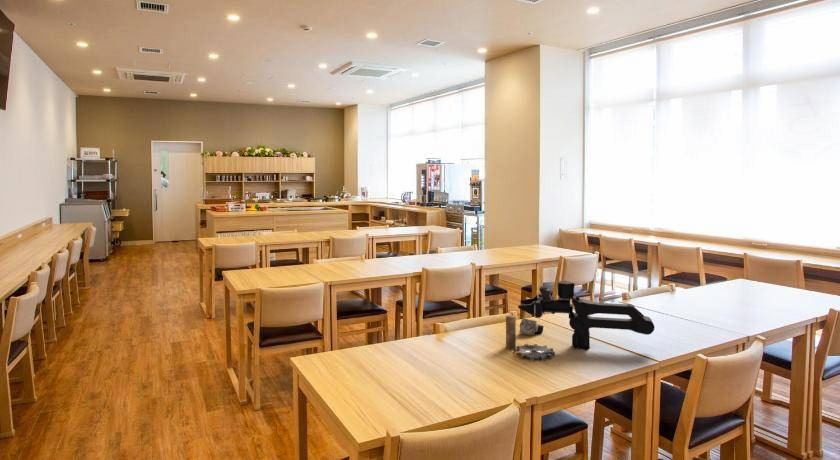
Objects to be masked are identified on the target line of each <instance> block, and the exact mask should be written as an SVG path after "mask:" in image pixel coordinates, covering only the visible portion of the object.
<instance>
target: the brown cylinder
mask: <svg viewBox="0 0 840 460" xmlns="http://www.w3.org/2000/svg"><path fill="white" fill-rule="evenodd" d="M516 320H517V316H515V315H506V316H505V348H506V349H509V350H514V348H515V349H517V346H516V345H517V342H516V341H517V331H516V330H517V329H516V328H517V326H516V325H517V323H516V322H517V321H516Z"/></svg>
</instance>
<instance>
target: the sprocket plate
mask: <svg viewBox="0 0 840 460" xmlns="http://www.w3.org/2000/svg"><path fill="white" fill-rule="evenodd" d="M513 354H514V356H515V357H520V360H530V361H531V362H534V361H537V360H538V361H541V362H544V361H545V360H547V359H548V360H552V359H553V357H556V351H554V348H552V347H551V348H550V347H548V346H547V345H538V343H537V344H536V343H533V344H532V345H531V344H527V343H526V344H523V345H517V346H516V348H514V349H513Z"/></svg>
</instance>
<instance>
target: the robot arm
mask: <svg viewBox="0 0 840 460" xmlns="http://www.w3.org/2000/svg"><path fill="white" fill-rule="evenodd" d="M575 284H576V283H575V282H572V281H567V280H558V281H557V296H558V297H559V298H556V297H554V296H552V295H551V294H552V292H551V290H550V289H549V287H548V286H549V285H548V284H545V285H542V286H539V289H538V290H539V292H538V294H536V295H534V296H533V297H531V298H525V299H521V300H520V304H519V305H517V308H518V309H519V310H521V311H523V312H525V313H527V314H529V315H531V316H533V318H536V319H539V318H540V319H541V318H542V316H543V314H545V313H551V314H552V315H555V314H568V319H569V326H570V328H571V329H572V330H573V333H572V335H571V337H572V338H571V344H572V347H573V348H574V349H583V350H584V349H585V350H591V347H590V346H591V343H590V339H591V338H590V337H591V336H590V335H591V333H590V332H591V331H590V329H591V328H594V329H595V328H597V329H608V330H609V329H610V330H625V331H626V330H627V331H628V330H629V331H632V332H634V333H637V334H640V335H641V334H642V335H648V336H649V335H652V333H653V332H654V331H655V325H654V322H653V320H652V319H651V317H649V316H645V315H644V314H643V313H642V312H641V311H640V310H639V309H637V308H636V306H635V305H633V303H632V304H631V303H611V302H610V303H608V302H607V303H605V302H595V301H593V300H589V299H585V298H580V297H579V296H578V295H576V294H575V286H576V285H575ZM571 303H572V304H571ZM574 311H575V312H574ZM595 314H596V315H597V314H603V315H619V316H621V315H622V316H628V317H629V318H620V317H619V318H617V317H601V316H599V317H598V316H592V315H595Z"/></svg>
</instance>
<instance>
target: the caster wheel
mask: <svg viewBox="0 0 840 460" xmlns="http://www.w3.org/2000/svg"><path fill="white" fill-rule="evenodd" d="M537 323H538V322H537V320H534V319H533V320H532V319H528V318H521V321H520V323H519V330H518V331H519V332H518V333H519V334H521V335H527V336H533V337H534V336H535V333H543V331H544V325H540V324H537Z"/></svg>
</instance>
